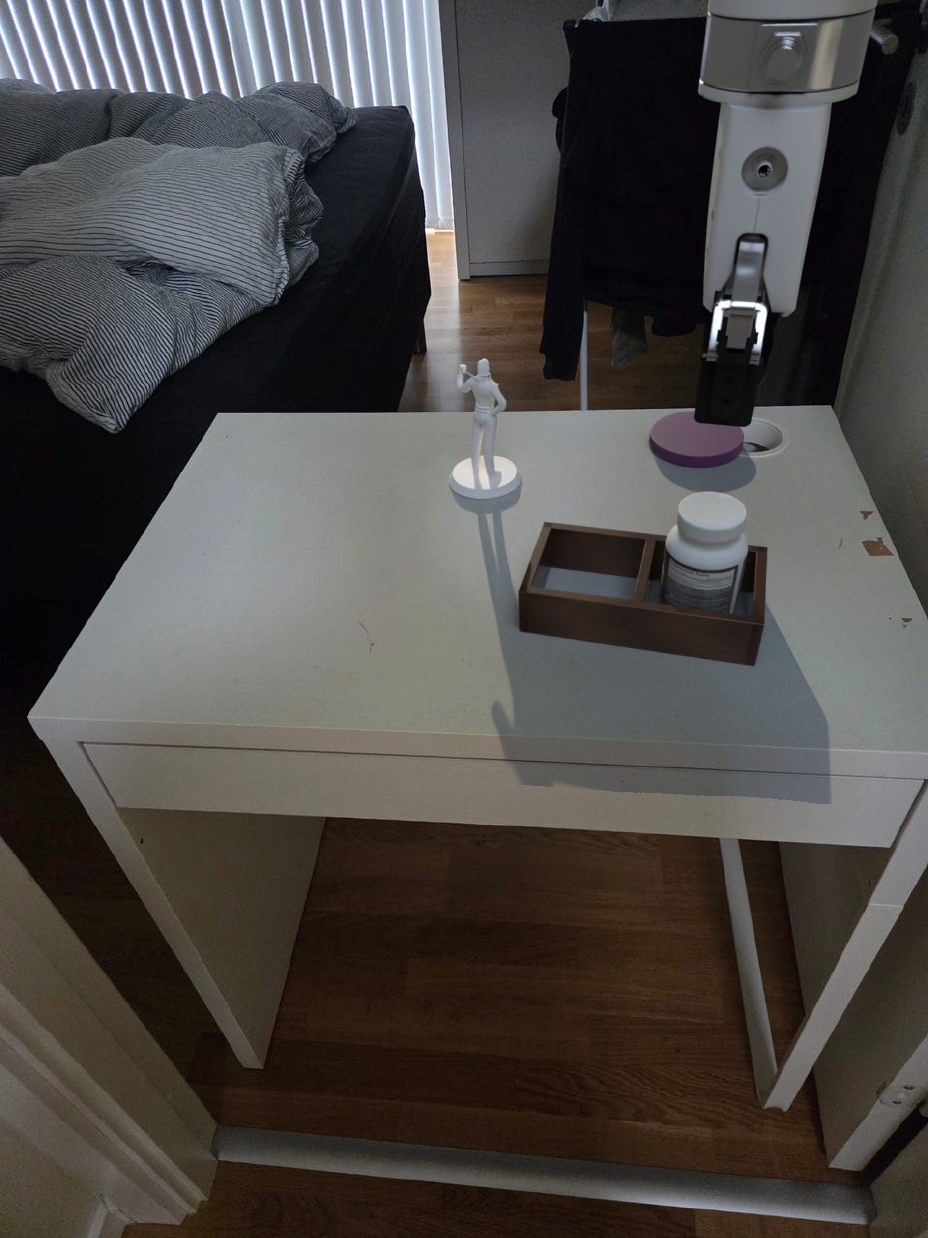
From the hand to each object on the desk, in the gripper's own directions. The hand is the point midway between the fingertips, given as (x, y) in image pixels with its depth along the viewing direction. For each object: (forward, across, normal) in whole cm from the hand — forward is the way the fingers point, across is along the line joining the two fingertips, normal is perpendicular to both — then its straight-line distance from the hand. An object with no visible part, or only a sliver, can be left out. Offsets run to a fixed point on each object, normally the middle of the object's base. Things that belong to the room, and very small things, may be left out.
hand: (726, 383), depth 52 cm
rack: (+19, 0, +4) cm, 20 cm away
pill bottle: (+19, 0, -1) cm, 19 cm away
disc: (+19, +26, +2) cm, 32 cm away
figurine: (+20, +16, +20) cm, 33 cm away
